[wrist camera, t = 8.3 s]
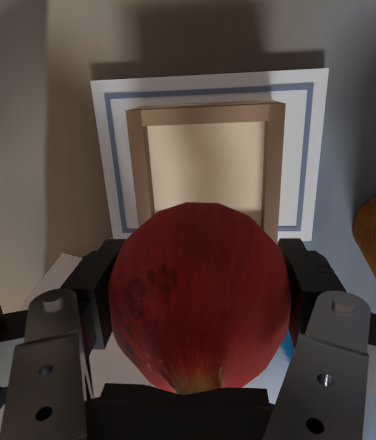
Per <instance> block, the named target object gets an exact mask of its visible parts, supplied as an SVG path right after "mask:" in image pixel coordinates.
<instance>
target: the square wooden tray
mask: <svg viewBox="0 0 376 440" xmlns="http://www.w3.org/2000/svg"><path fill="white" fill-rule="evenodd" d="M285 108H286V103H282V102H278V101H275V100H254V101H232V102H210V103H188V104H167V105H145V106H140V107H136V108H133V109H130V110H126V120H127V129H128V138H129V147H130V156H131V164H132V173H133V182H134V191H135V200H136V209H137V218H138V227H140V226H141V225H142V224H144V223H145V222H146V221H147V220H148V219H149V218H151V217H152V216H153V215H154V214H155V213H157V212H158V211H161V210H164V209H167V208H170V207H173V206H176V205H179V204H182V203H185V202H202V203H220V204H222V205H225V206H227V207H229V208H232V209H234V210H237V211H239V212H242V213H244V214H246V215H249V216H250V217H251V218H252V219H253V220H254V221H255V222H256V223H257V224H258V225H259V226H260V227H261V228H262V229H263V230H264V231H265V232H266V233H267V235H268V236H269V237H270V238H271V239H272V240H273V241H274V242H275V243H276V244H277V240H278V223H279V207H280V191H281V174H282V158H283V141H284V125H285Z"/></svg>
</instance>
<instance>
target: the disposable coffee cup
mask: <svg viewBox="0 0 376 440" xmlns="http://www.w3.org/2000/svg"><path fill="white" fill-rule="evenodd" d="M353 236H354V239H355V241H356V243H357V244H358V246H359V248H360V250H361V252H362V253H363V255H364V257H365V259H366V261H367V263H368V264H369V266H370V268H371V270H372V272H373V273H374V275H375V277H376V196H375V197H373V198H372V199H370V200H369V201H368V202H366V203H365V204H364V205H363V206H362V207H361V209H360V210H359V212H358V213H357V215H356V217H355V219H354V222H353Z"/></svg>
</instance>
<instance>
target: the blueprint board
mask: <svg viewBox="0 0 376 440" xmlns="http://www.w3.org/2000/svg"><path fill="white" fill-rule="evenodd" d="M328 73H329V68H320V69H301V70H283V71H264V72H245V73H227V74H208V75H189V76H171V77H152V78H133V79H115V80H96V81H90V83H91V90H92V97H93V104H94V111H95V118H96V124H97V131H98V138H99V145H100V152H101V159H102V165H103V172H104V179H105V186H106V193H107V200H108V206H109V213H110V220H111V227H112V234H113V239H127V238H128V237H129V236H130V235H131V234H132V233H133V232H134V231H135V230H137V229H138V228H139V227H138V218H137V209H136V200H135V191H134V182H133V173H132V164H131V156H130V147H129V138H128V129H127V120H126V110H130V109H133V108H136V107H140V106H145V105H167V104H188V103H210V102H232V101H254V100H275V101H278V102H282V103H286V108H285V125H284V141H283V158H282V174H281V191H280V207H279V223H278V240H277V241H279V239H280V238H300V239H301V240H302V241H311V237H312V228H313V218H314V208H315V199H316V189H317V179H318V170H319V160H320V150H321V141H322V131H323V121H324V112H325V102H326V92H327V83H328Z"/></svg>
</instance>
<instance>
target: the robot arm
mask: <svg viewBox="0 0 376 440" xmlns="http://www.w3.org/2000/svg"><path fill="white" fill-rule="evenodd" d="M125 240H126V239H106V240H105V242H104V243H103V245H102V246H101V247H100V249H99V250H98V251H93V252H91V253H89V254H88V255H86V256H85V257H83V258H82V260H81V261H80V262H79V264H78V266H76V267H75V269H74V270H73V272H72V273H71V274H70V275H69V276H68V278H67V279H66V280H65V282H64V283H63V284H62V286H61V287H60V288H59V289H53V290H49V291H46V292H44V293H42V294H40V295H38V296H37V297H35V298H34V299H33V300H32V301H31V302H30V304H29V307H28V310H23V311H18V312H13V313H7V314H3V312H2V309H1V306H0V409H1V408H2V407H3V406H4V404H5V406H4V412H3V418H2V424H1V430H0V440H362V437H363V425H364V413H365V401H366V392H369V393H373V394H376V314H373V313H371V309H370V306H369V305H368V304H367V303H366V302H365V301H364V300H363V299H361V298H360V297H358V296H356V295H354V294H351V293H347V292H346V290H345V288H344V287H343V285H342V284H341V282H340V280H339V279H338V277H337V276H336V274H334V271H333V269H332V268H331V267H330V264H329V263H328V261H327V260H326V258H325V257H324V256H322V255H321V254H319V253H318V252H316V251H307V250H306V248H305V246H304V244H303V242H302V240H301V239H300V238H280V239H279V242H278V246H279V247H280V250H281V253H282V255H283V258H284V261H285V264H286V267H287V270H288V272H289V275H290V280H291V287H292V299H291V310H290V321H289V327H288V328H289V332H290V335H291V339H292V342H293V346H294V349H295V350H294V353H293V356H292V358H291V361H290V364H289V367H288V369H287V372H286V376H285V378H284V381H283V383H282V386H281V389H280V392H279V395H278V398H277V400H276V403H275V405H274V404H271V403H269V400H268V395H267V394H268V393H267V389H259V388H231V387H225V388H219V389H214V390H209V391H204V392H198V393H193V394H188V395H180V394H176V393H173V392H169V391H165V390H162V389H158V388H155V387H151V386H148V385H144V384H119V383H105V385H104V387H103V390H102V393H101V395H100V397H96V398H95V395H94V387H93V379H92V371H91V363H90V358H89V355H90V353H91V351H92V349H98V350H105V348H106V345H107V343H108V341H109V338H110V336H111V334H112V323H111V315H110V307H109V298H108V283H109V279H110V275H111V271H112V269H113V266H114V264H115V262H116V259H117V257H118V255H119V253H120V250H121V248H122V246H123V243H124V241H125Z"/></svg>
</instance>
